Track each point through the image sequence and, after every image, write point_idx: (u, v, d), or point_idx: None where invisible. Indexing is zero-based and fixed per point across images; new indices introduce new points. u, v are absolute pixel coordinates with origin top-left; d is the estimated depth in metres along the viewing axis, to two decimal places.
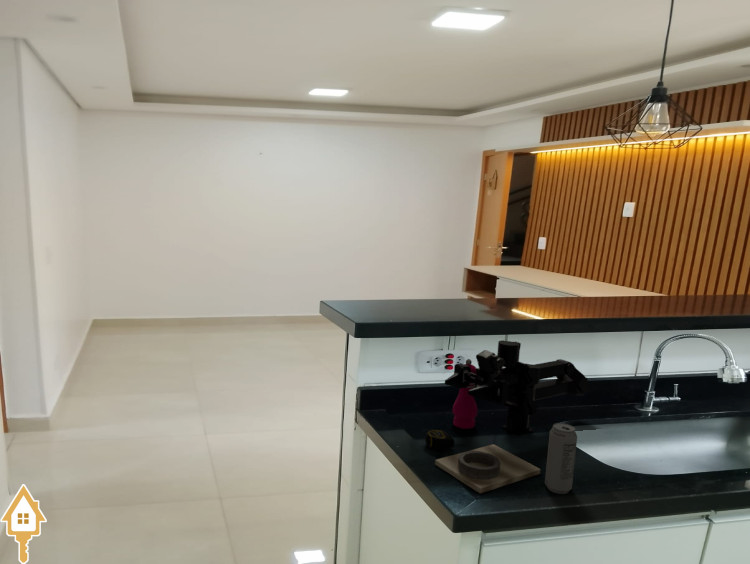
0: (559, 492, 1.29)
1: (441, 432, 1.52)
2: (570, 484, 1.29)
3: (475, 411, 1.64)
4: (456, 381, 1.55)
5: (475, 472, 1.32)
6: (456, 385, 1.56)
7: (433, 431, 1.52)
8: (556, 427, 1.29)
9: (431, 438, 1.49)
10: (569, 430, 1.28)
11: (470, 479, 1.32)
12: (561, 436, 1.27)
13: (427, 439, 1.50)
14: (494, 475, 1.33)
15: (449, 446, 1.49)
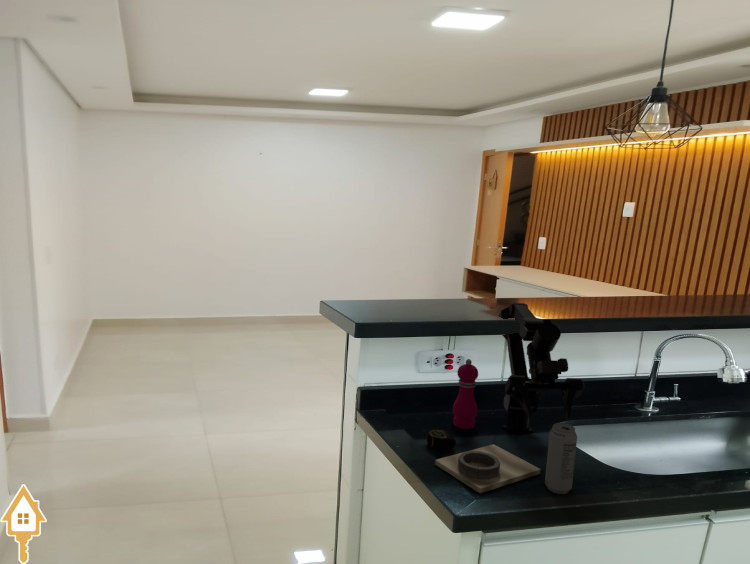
0: (559, 492, 1.29)
1: (442, 432, 1.52)
2: (570, 484, 1.29)
3: (475, 411, 1.64)
4: None
5: (475, 472, 1.32)
6: None
7: (434, 431, 1.53)
8: (556, 427, 1.29)
9: (433, 437, 1.49)
10: (569, 430, 1.28)
11: (470, 479, 1.32)
12: (561, 436, 1.27)
13: (428, 439, 1.50)
14: (494, 475, 1.33)
15: (450, 446, 1.49)
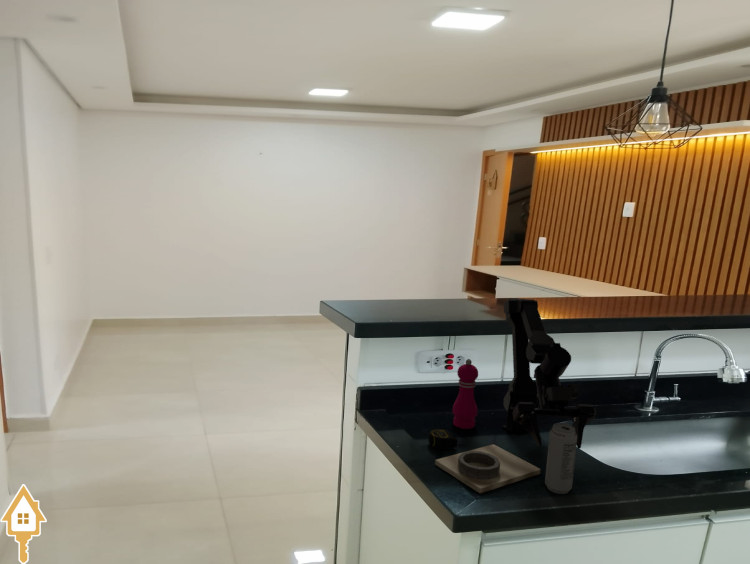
0: (559, 492, 1.29)
1: (444, 432, 1.53)
2: (570, 484, 1.29)
3: (475, 411, 1.64)
4: None
5: (475, 472, 1.32)
6: None
7: (436, 431, 1.53)
8: (556, 427, 1.29)
9: (434, 437, 1.49)
10: (569, 430, 1.28)
11: (470, 479, 1.32)
12: (561, 436, 1.27)
13: (430, 438, 1.50)
14: (494, 475, 1.33)
15: (452, 445, 1.49)
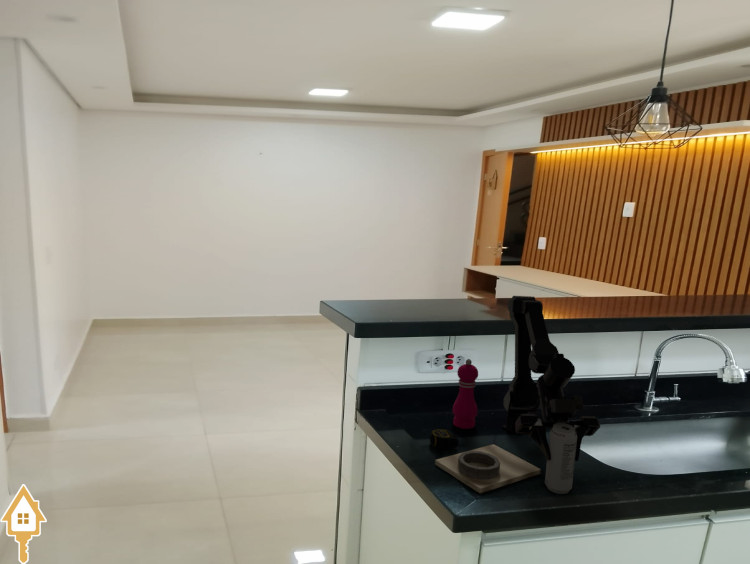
0: (559, 492, 1.29)
1: (445, 431, 1.53)
2: (570, 484, 1.29)
3: (475, 411, 1.64)
4: None
5: (475, 472, 1.32)
6: None
7: (437, 430, 1.53)
8: (556, 427, 1.29)
9: (436, 437, 1.49)
10: (569, 430, 1.28)
11: (470, 479, 1.32)
12: (561, 436, 1.27)
13: (431, 438, 1.50)
14: (494, 475, 1.33)
15: (453, 445, 1.49)
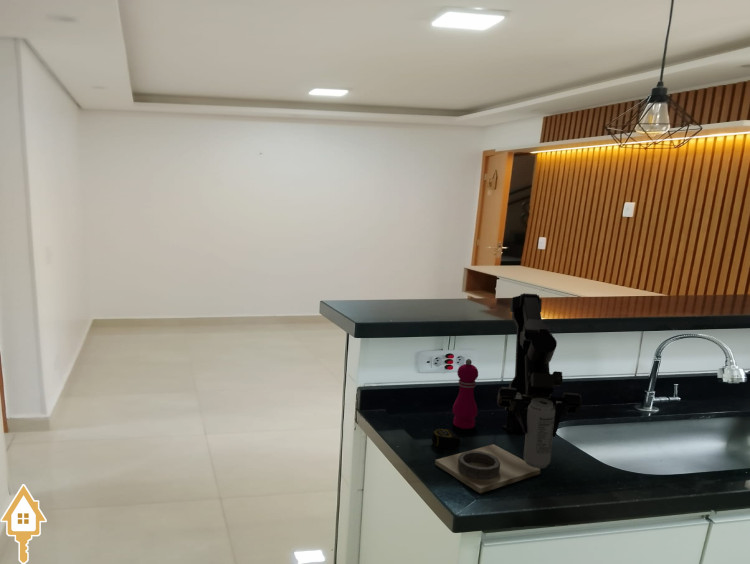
0: (535, 466, 1.29)
1: (447, 431, 1.53)
2: (547, 459, 1.29)
3: (475, 411, 1.64)
4: None
5: (475, 472, 1.32)
6: None
7: (439, 430, 1.53)
8: (534, 401, 1.29)
9: (438, 437, 1.50)
10: (546, 404, 1.27)
11: (470, 479, 1.32)
12: (536, 410, 1.27)
13: (433, 438, 1.51)
14: (494, 475, 1.33)
15: (455, 445, 1.50)
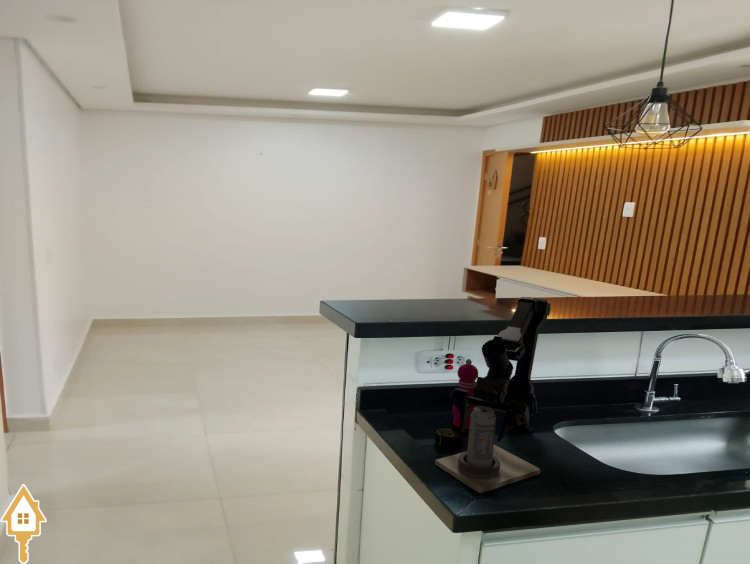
0: None
1: (450, 431, 1.54)
2: (483, 465, 1.33)
3: None
4: (465, 416, 1.39)
5: (475, 472, 1.32)
6: (467, 418, 1.40)
7: (442, 429, 1.54)
8: (476, 408, 1.35)
9: (440, 436, 1.50)
10: (484, 412, 1.33)
11: (470, 479, 1.32)
12: (474, 416, 1.33)
13: (436, 437, 1.51)
14: (494, 475, 1.33)
15: (458, 444, 1.50)
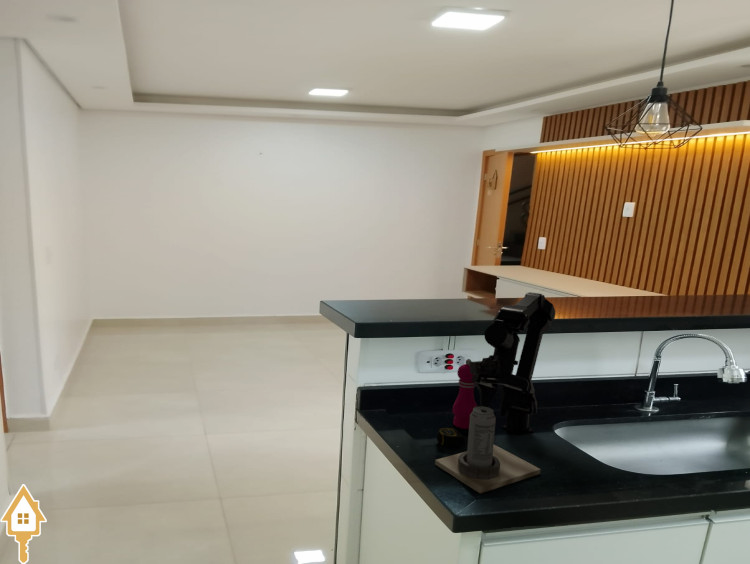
0: None
1: (452, 430, 1.54)
2: (483, 466, 1.33)
3: None
4: (487, 396, 1.50)
5: (475, 472, 1.32)
6: (491, 397, 1.50)
7: (444, 429, 1.54)
8: (475, 408, 1.35)
9: (443, 436, 1.50)
10: (483, 412, 1.33)
11: (470, 479, 1.32)
12: (473, 416, 1.33)
13: (439, 437, 1.51)
14: (494, 475, 1.33)
15: (460, 444, 1.50)
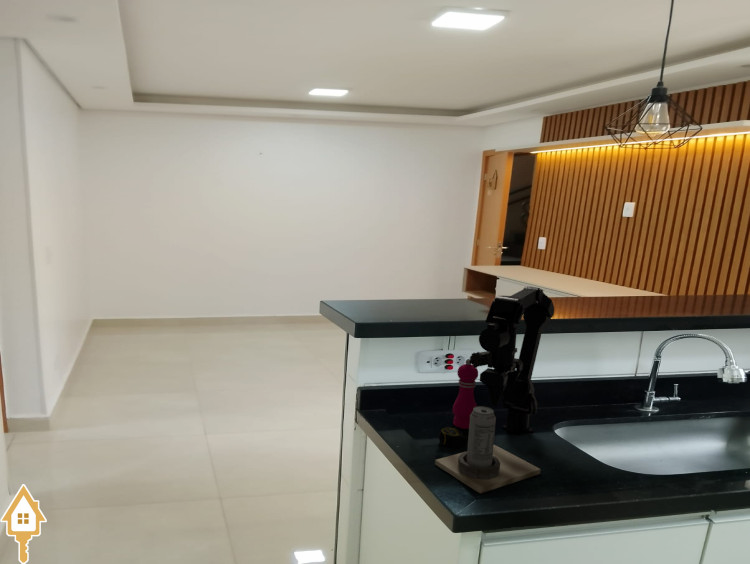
0: None
1: (454, 430, 1.54)
2: (483, 466, 1.33)
3: None
4: (507, 381, 1.54)
5: (475, 472, 1.32)
6: (512, 382, 1.53)
7: (446, 429, 1.55)
8: (475, 408, 1.35)
9: (445, 435, 1.51)
10: (483, 412, 1.33)
11: (470, 479, 1.32)
12: (474, 416, 1.33)
13: (441, 436, 1.52)
14: (494, 475, 1.33)
15: (462, 443, 1.51)
